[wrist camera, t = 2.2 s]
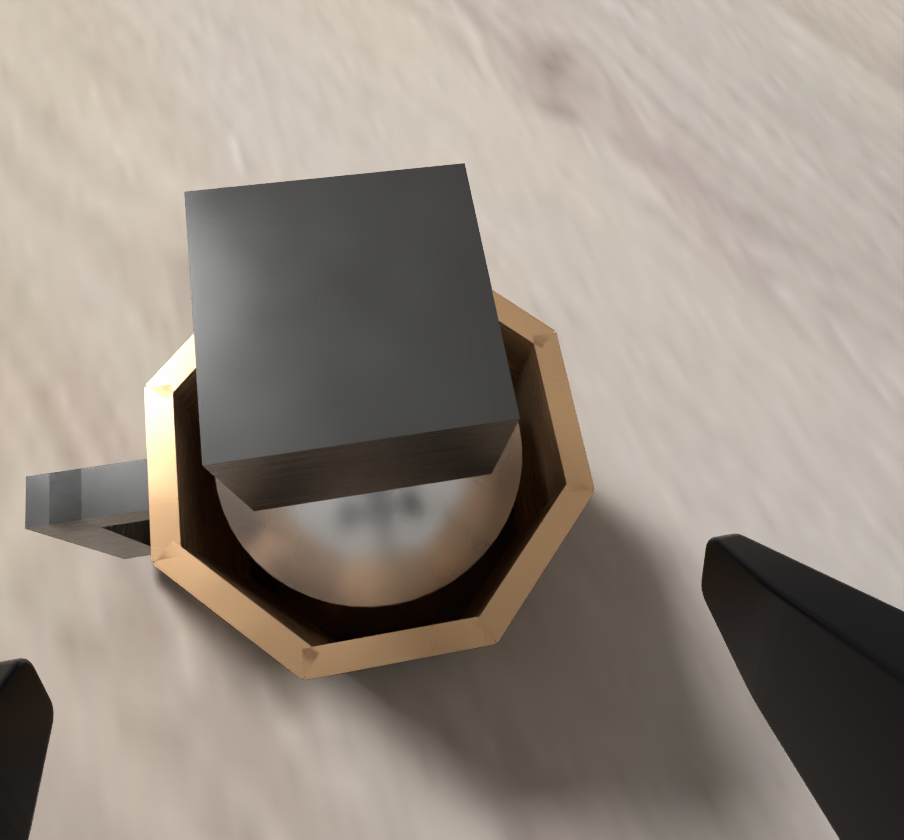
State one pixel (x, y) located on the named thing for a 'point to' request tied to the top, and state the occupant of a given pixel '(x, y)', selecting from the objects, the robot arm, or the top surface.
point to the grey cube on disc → (353, 380)
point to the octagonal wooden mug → (287, 610)
